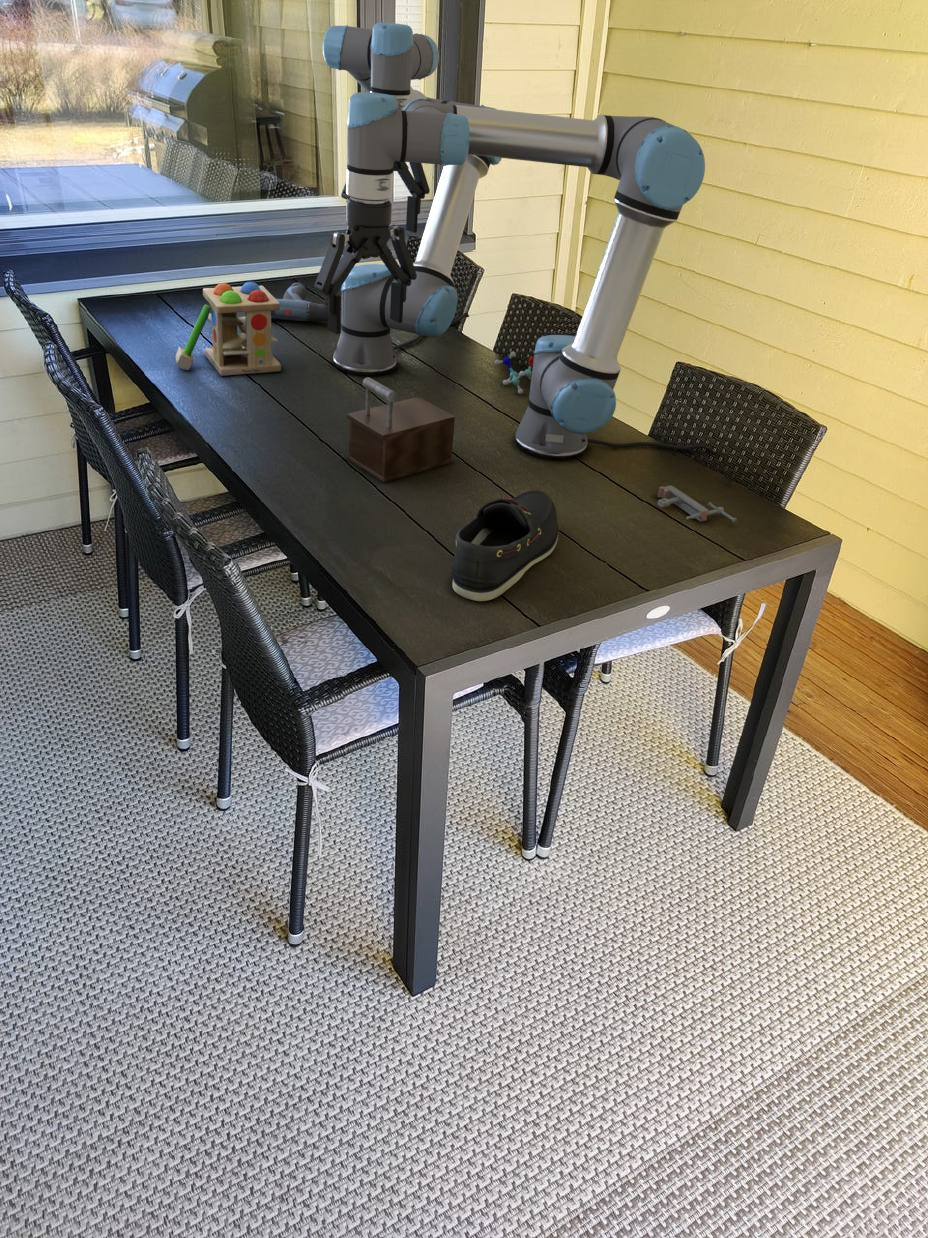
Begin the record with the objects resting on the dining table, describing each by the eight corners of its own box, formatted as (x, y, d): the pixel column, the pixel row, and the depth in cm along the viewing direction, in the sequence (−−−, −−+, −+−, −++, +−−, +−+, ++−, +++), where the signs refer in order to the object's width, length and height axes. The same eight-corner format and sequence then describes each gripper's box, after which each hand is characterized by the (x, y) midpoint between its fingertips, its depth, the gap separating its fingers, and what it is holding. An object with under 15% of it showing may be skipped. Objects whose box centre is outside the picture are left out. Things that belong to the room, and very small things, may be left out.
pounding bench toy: (183, 379, 220) (176, 299, 210) (169, 357, 231) (162, 280, 221) (282, 371, 230) (280, 294, 220) (264, 350, 240) (262, 276, 230)
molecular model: (539, 386, 226) (526, 343, 224) (502, 400, 229) (488, 358, 228) (551, 385, 236) (539, 344, 235) (515, 398, 240) (503, 358, 238)
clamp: (647, 488, 189) (686, 480, 193) (645, 499, 190) (684, 490, 195) (698, 524, 178) (739, 515, 183) (696, 535, 180) (736, 525, 184)
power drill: (344, 304, 276) (335, 327, 259) (277, 298, 275) (264, 321, 258) (344, 285, 273) (335, 306, 256) (277, 279, 272) (264, 300, 255)
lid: (383, 439, 182) (384, 397, 177) (346, 418, 189) (347, 376, 184) (454, 420, 192) (458, 380, 187) (417, 400, 199) (420, 361, 194)
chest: (384, 482, 187) (385, 439, 182) (348, 459, 194) (349, 417, 189) (451, 462, 197) (454, 420, 192) (415, 441, 204) (417, 400, 199)
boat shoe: (583, 534, 177) (590, 481, 172) (488, 608, 153) (493, 549, 148) (521, 514, 183) (526, 462, 178) (421, 583, 159) (423, 525, 154)
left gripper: (347, 122, 177) (345, 244, 189) (451, 119, 192) (443, 232, 204) (323, 115, 182) (323, 235, 194) (427, 113, 196) (421, 224, 208)
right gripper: (319, 209, 153) (319, 343, 165) (441, 198, 167) (433, 322, 179) (292, 199, 157) (294, 330, 169) (413, 189, 172) (407, 310, 183)
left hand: (385, 234), depth 199 cm, fingers open, 13 cm apart
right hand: (365, 326), depth 174 cm, fingers open, 13 cm apart
